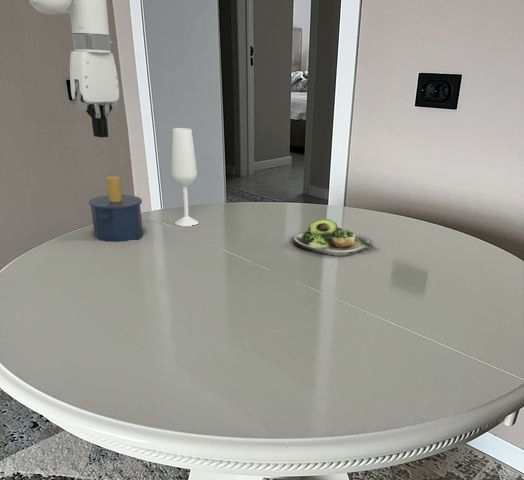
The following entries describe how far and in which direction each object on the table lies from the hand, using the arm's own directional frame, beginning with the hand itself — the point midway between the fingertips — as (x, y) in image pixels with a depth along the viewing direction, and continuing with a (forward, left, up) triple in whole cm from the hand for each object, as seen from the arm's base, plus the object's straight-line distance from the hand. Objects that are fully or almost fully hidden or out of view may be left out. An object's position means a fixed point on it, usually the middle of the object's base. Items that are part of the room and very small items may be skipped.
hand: (101, 136), depth 122 cm
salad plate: (+54, +3, -24) cm, 59 cm away
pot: (+1, +1, -24) cm, 24 cm away
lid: (+1, +1, -15) cm, 15 cm away
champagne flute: (+15, +16, -24) cm, 32 cm away
